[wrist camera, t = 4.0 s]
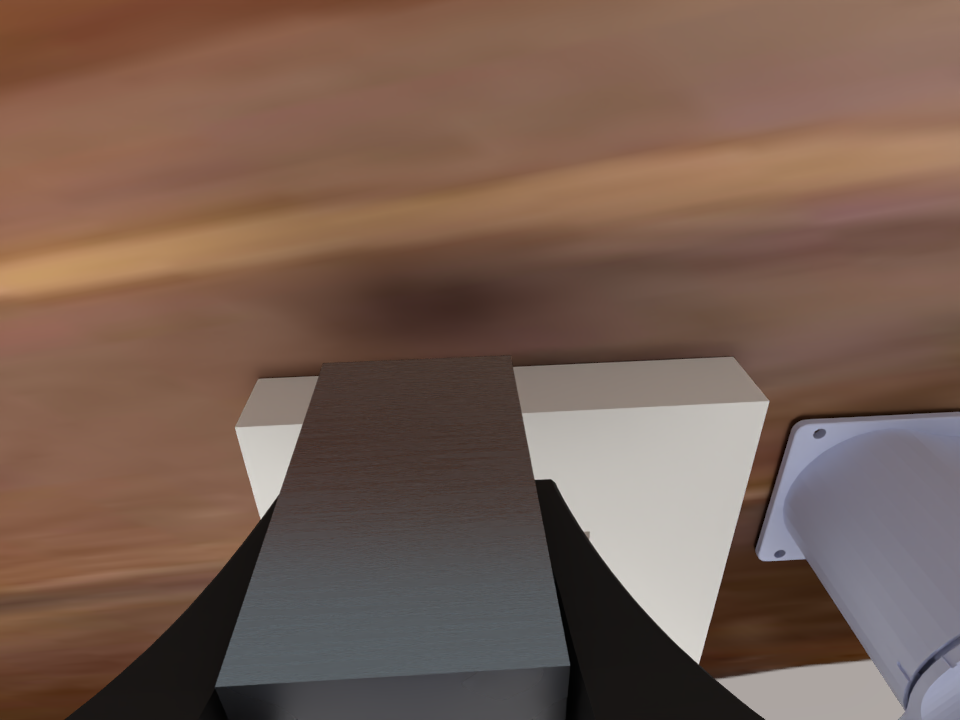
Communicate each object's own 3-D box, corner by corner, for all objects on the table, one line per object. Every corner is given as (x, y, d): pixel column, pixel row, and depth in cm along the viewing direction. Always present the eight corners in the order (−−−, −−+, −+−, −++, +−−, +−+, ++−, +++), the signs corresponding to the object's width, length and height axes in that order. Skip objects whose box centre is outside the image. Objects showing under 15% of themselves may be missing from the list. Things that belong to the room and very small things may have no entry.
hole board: (733, 356, 23) (769, 401, 21) (668, 647, 33) (688, 703, 30) (258, 378, 23) (234, 427, 20) (329, 668, 32) (319, 727, 29)
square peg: (510, 355, 15) (570, 665, 8) (509, 495, 17) (554, 831, 10) (322, 363, 15) (214, 687, 8) (347, 503, 17) (280, 850, 10)
